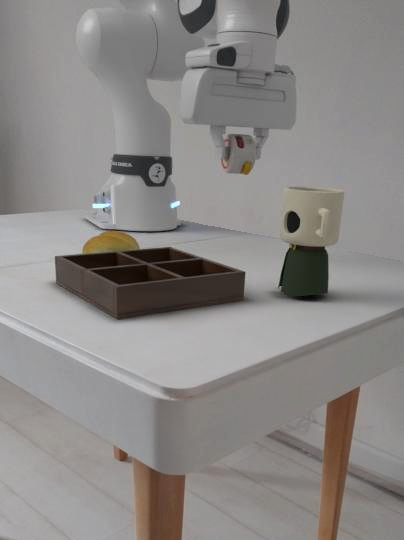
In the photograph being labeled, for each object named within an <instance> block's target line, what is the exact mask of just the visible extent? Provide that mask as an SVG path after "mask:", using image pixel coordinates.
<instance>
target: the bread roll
mask: <svg viewBox="0 0 404 540" xmlns="http://www.w3.org/2000/svg"><path fill="white" fill-rule="evenodd" d="M137 249H141V248H140V245H139V242H138V241H137V239H136V238H135V237H133V235H130V234H129V233H127V232H124V231H120V230H119V231H118V230H106V231H103V232H101V233H99V234H98V235H96V236H92V237H90V238H89V239H87V241H86V242H85V243H84V245H83V247H82V251H81V254H87V253H100V252H112V251H124V250H137Z"/></svg>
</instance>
